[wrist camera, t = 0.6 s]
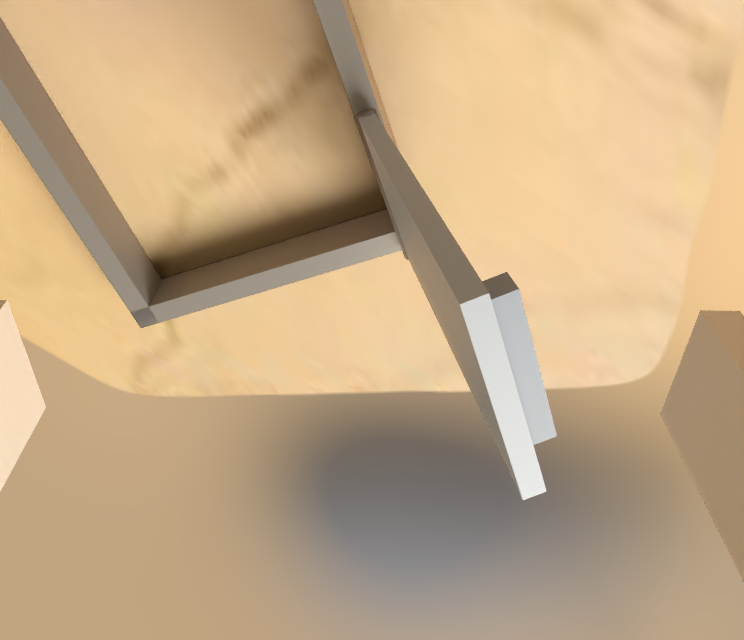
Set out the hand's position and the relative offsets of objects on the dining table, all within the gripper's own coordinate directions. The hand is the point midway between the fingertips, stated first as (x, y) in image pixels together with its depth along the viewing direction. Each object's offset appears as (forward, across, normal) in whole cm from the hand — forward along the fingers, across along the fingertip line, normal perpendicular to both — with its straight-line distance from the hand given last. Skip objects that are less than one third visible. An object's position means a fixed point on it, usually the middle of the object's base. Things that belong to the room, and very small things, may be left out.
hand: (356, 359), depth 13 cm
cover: (+13, +2, -6) cm, 14 cm away
